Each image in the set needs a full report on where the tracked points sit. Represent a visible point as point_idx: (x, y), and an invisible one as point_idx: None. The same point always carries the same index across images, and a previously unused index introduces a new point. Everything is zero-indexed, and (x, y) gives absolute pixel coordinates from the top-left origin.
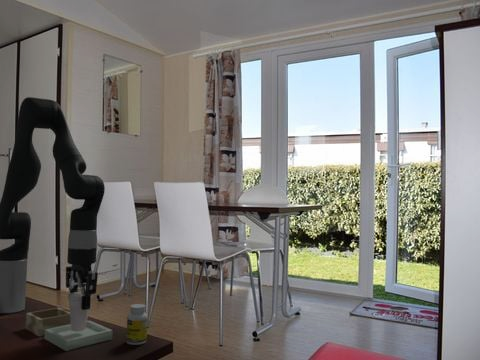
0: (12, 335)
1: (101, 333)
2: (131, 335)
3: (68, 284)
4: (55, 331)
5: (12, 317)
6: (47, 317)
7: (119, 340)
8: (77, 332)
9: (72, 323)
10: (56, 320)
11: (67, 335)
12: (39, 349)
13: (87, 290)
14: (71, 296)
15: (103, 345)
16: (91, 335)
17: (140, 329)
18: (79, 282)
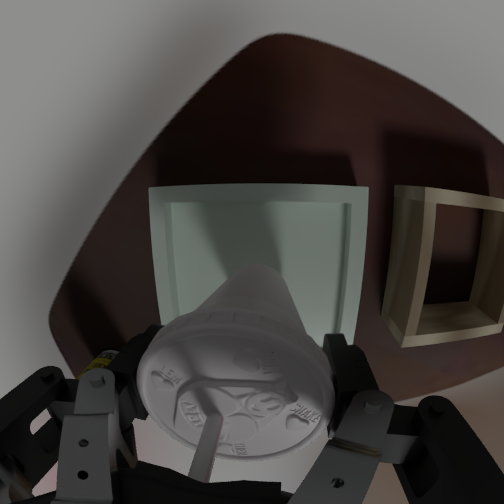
0: (457, 130)
1: None
2: (93, 363)
3: (423, 428)
4: (347, 227)
5: None
6: (491, 277)
7: None
8: None
9: (243, 271)
10: (410, 266)
11: (275, 247)
12: (245, 120)
13: (28, 382)
14: (187, 326)
15: (141, 302)
16: (157, 292)
17: None
18: (77, 448)
